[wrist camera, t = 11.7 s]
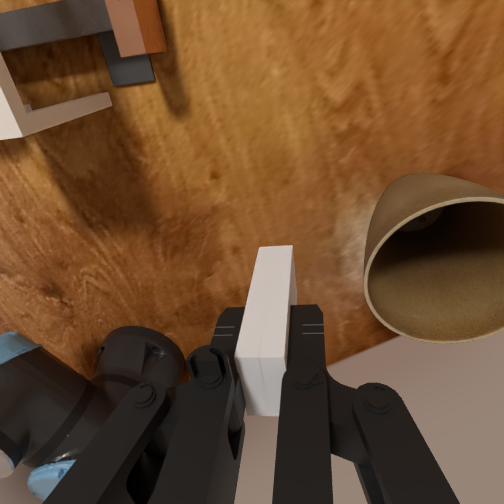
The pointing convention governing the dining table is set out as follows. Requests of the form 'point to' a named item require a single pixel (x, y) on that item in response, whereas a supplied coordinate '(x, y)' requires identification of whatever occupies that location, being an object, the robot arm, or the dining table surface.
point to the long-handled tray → (86, 24)
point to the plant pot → (437, 259)
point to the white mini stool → (28, 122)
